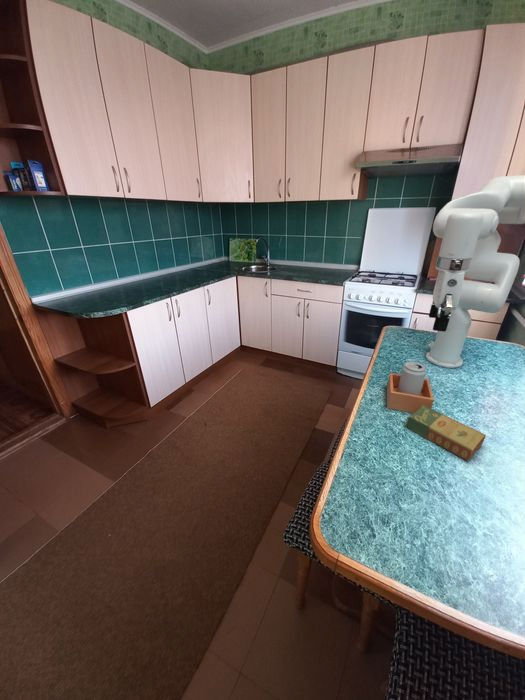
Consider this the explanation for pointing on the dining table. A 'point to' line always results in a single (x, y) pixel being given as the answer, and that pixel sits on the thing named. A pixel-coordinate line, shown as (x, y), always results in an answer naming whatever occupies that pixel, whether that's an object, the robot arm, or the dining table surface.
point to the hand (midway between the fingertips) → (436, 323)
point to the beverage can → (412, 378)
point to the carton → (446, 432)
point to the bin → (407, 396)
